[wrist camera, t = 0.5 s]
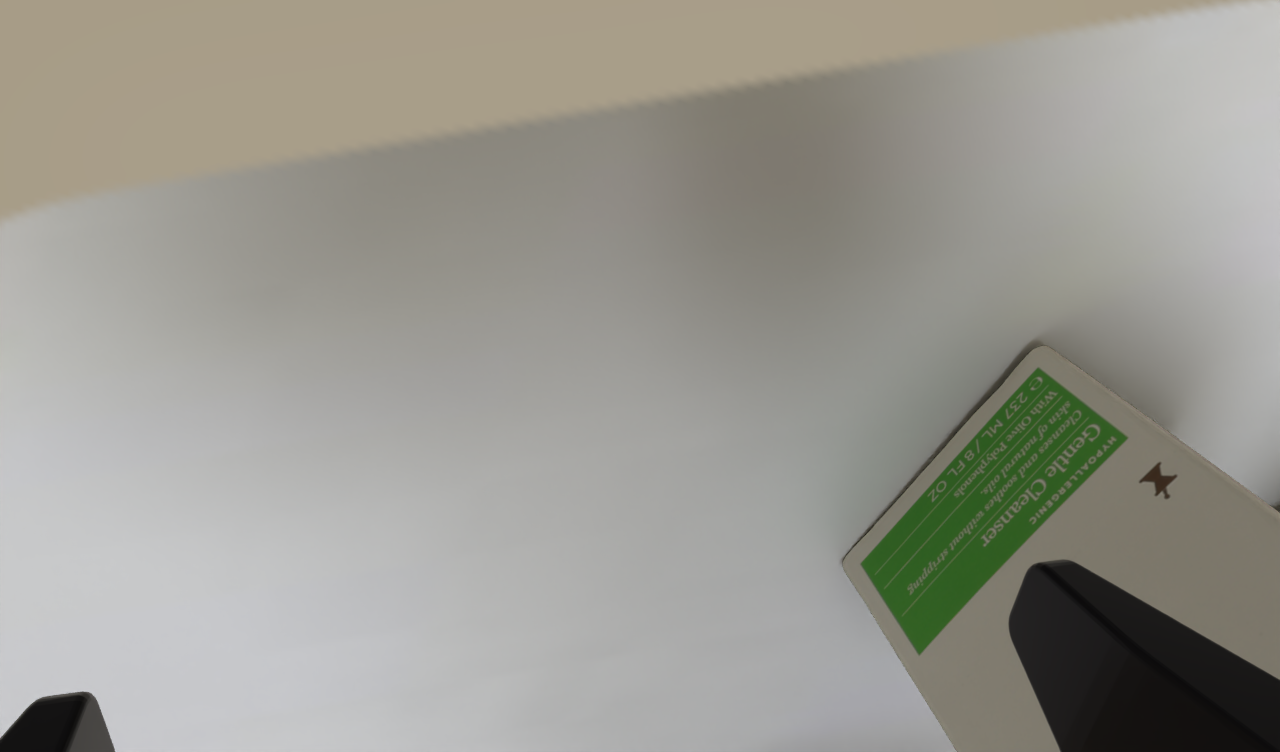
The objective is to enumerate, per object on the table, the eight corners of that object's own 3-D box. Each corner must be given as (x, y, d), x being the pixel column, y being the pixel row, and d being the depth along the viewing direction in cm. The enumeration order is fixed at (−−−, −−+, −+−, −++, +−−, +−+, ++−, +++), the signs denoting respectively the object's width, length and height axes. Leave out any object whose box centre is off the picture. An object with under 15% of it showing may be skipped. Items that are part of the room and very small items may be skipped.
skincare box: (1036, 333, 25) (1810, 855, 11) (1181, 450, 27) (1955, 991, 13) (826, 571, 27) (1256, 1273, 13) (981, 660, 29) (1478, 1322, 15)
